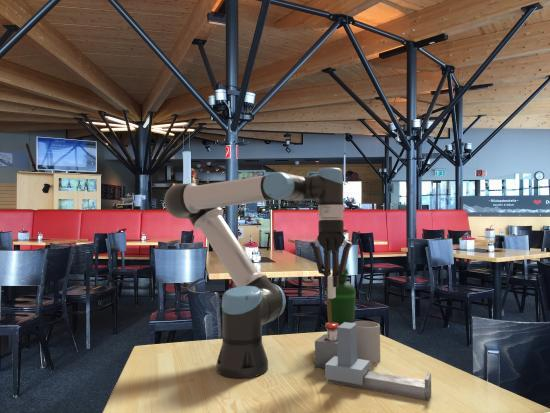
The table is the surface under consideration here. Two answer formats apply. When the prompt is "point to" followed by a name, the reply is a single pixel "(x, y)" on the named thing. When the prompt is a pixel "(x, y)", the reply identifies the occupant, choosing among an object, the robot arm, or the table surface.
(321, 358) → the grey cube box
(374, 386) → the rail
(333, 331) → the plunger
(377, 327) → the mug
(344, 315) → the bottle
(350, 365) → the carriage
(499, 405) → the table surface
